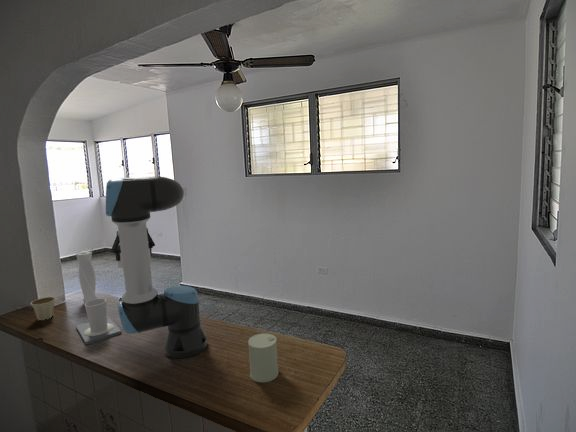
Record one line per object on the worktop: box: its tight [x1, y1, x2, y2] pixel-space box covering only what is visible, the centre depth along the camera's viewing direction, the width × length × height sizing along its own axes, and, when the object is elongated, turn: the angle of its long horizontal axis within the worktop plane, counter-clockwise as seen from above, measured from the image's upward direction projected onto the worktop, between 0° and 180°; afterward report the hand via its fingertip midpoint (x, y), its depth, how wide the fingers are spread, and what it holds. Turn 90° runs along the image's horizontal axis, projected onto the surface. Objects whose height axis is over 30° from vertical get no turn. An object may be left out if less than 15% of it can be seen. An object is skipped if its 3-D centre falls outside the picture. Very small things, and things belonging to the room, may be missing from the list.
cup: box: [84, 298, 108, 333], centre depth 144 cm, size 8×8×12 cm
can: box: [247, 333, 280, 383], centre depth 110 cm, size 9×9×12 cm
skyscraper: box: [75, 247, 98, 303], centre depth 181 cm, size 8×8×28 cm
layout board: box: [75, 315, 122, 346], centre depth 146 cm, size 20×13×1 cm, turn 41°
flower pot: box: [30, 296, 56, 321], centre depth 162 cm, size 9×9×9 cm
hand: (135, 264), depth 158 cm, fingers open, 13 cm apart
